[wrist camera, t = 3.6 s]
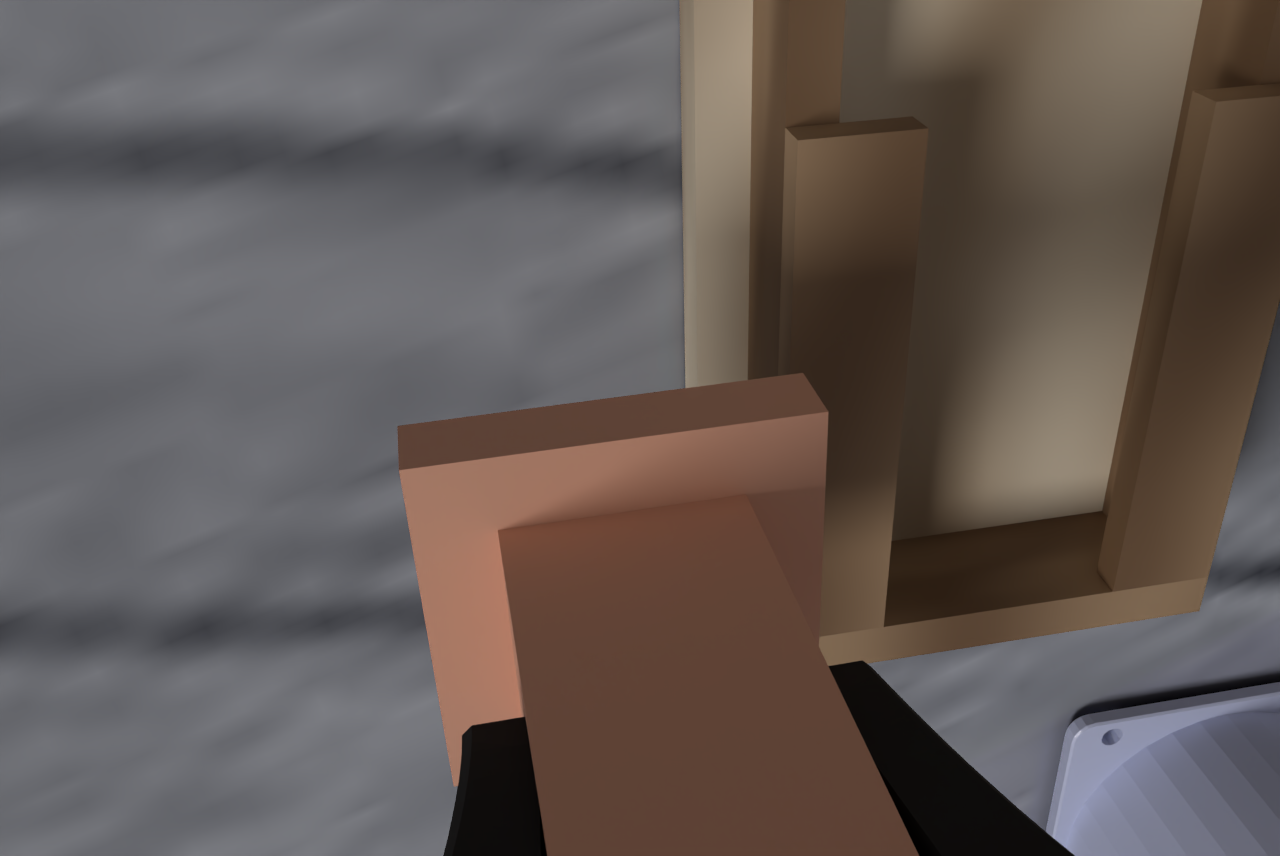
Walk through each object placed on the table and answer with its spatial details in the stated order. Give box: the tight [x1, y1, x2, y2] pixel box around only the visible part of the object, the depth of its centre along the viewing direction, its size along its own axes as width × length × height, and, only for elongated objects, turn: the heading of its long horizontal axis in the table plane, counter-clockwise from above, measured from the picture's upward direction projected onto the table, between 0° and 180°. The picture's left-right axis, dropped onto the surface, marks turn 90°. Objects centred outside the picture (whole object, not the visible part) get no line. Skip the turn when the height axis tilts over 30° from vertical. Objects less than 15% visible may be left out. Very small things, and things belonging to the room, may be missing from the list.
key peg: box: [398, 373, 919, 856], centre depth 13 cm, size 5×5×8 cm
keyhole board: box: [680, 0, 1280, 666], centre depth 20 cm, size 10×19×3 cm, turn 2°
